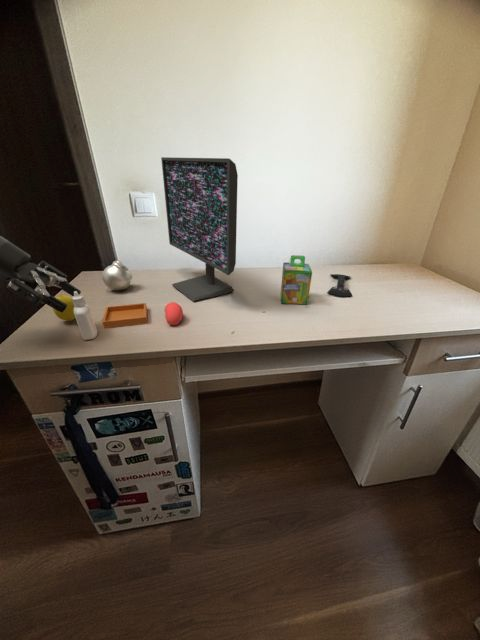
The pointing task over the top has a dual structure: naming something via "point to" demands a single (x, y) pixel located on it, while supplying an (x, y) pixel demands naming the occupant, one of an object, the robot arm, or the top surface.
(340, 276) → the dark flared piece
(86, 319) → the eye dropper bottle
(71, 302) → the lemon
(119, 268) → the silver rounded lump
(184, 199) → the computer monitor
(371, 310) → the top surface
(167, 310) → the red kidney bean shape
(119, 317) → the amber tray
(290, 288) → the chalk box
